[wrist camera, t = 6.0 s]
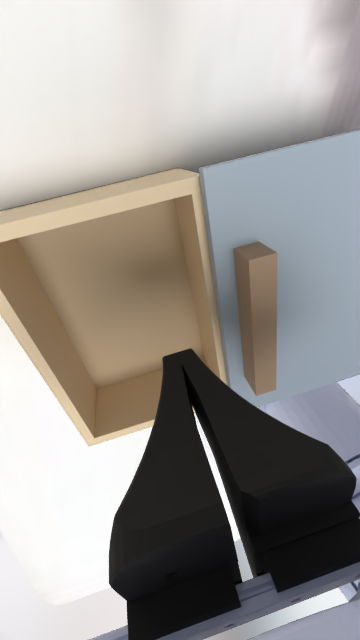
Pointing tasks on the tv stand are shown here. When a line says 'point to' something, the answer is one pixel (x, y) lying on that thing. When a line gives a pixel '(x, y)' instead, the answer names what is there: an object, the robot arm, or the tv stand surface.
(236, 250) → the lid
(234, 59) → the tv stand surface
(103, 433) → the light wooden box
